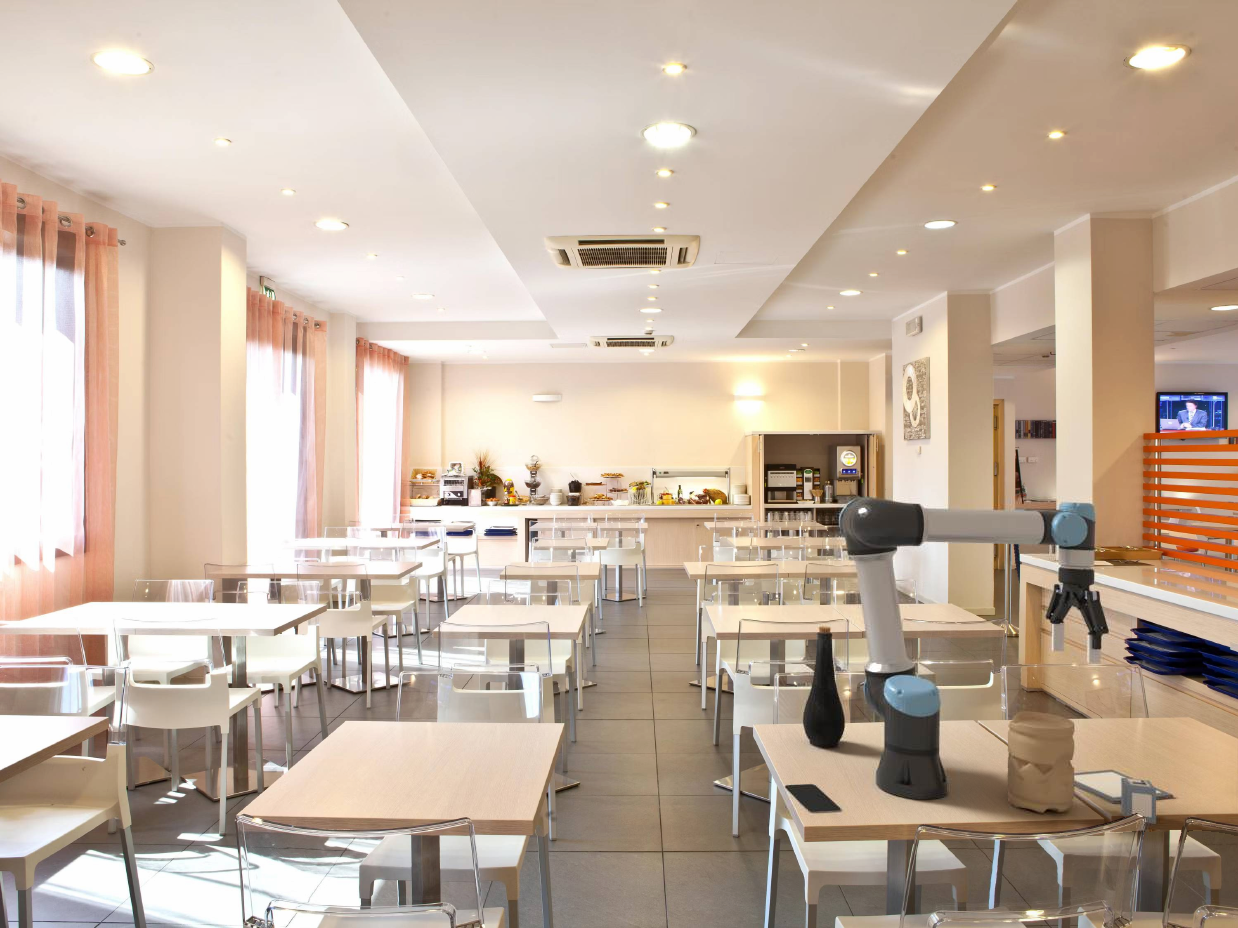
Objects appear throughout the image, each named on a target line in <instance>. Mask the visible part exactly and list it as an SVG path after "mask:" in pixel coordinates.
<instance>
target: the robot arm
mask: <svg viewBox="0 0 1238 928" xmlns="http://www.w3.org/2000/svg"><path fill="white" fill-rule="evenodd" d="M1096 523H1097V521H1096V512H1095V506H1094V505H1093V504H1092V503H1090V502H1089V503H1088V502H1065V501H1064V502H1060V504H1059V507H1058V509H1054V510H1049V509H1030V508H1029V509H1028V508H1027V509H1025V508H1022V509H1012V510H1007V509H974V508H973V509H972V508H970V509H967V508H934V507H933V508H929V507H927V508H925V507H924V506H923V505H922V504H921V503H911V502H907V503H906V502H901V501H895V500H890V499H887V498H880V497H871V496H862V497H857V498H855V499H853V500H849V502H847V503H846V504H845V505H844V506H843V508H842V510H841V511H840V514H839V518H838V525H839V529H840V532H841V534H842V535H843V537H844V539H845V546H846V552H847V556H848V558H850V559H851V560H853V561H854V563H855V570H856V575H857V576H856V577H857V583H858V589H859V595H860V604H861V610H862V616H863V622H864V623H863V624H864V628H865V629H864V630H865V637H866V644H867V651H868V657H869V658H868V659H869V660H868V661H867V662H866V663H865V665H864V667H863V668H864V675H865V680H864V683H863V694H864V696H863V697H864V698H865V701H866V704H867V706H868V707H869V709H870V710H872V712H873V713H874V714H875V715H876V716H877V717H879V718H880V719H881V720H882V721H883V722H884V724H883V726H884V727H883V729H884V731H883V734H884V735H883V740H884V742H883V743H884V744H883V746H884V747H883V751H882V754H881V757H880V759H879V763H878V766H877V768H876V771H875V784H876V786H877V787H878V788H879V789H881V790H882V791H884V792H886V793H889V794H891V795H894V796H898V797H902V798H908V799H916V800H935V799H936V800H937V799H940V798H944V797H945V796H946V795H947V794H948V791H949V790H948V788H949V787H948V786H949V785H948V783H949V782H948V778H947V775H946V772H945V769H944V766H943V763H942V760H941V755H940V733H941V731H940V728H941V725H940V720H941V719H940V718H941V717H940V716H941V715H940V713H941V704H942V703H941V696H940V690H939V688H938V687H937V685H936V684H935V683H933V681H930V680H929V679H926V678H923V677H920V676H917V672H916V666H915V662H914V661H913V660H911V659H910V658H908V656H907V651H906V645H905V637H904V629H903V625H902V617H901V611H900V609H901V608H900V605H899V604H900V603H899V598H898V597H899V596H898V589H897V584H896V576H895V570H894V569H895V568H894V563H893V557H894V556H895V555H896V553H897V552H898V547H899V548H900V547H920V546H921V545H923V544H924V543H955V544H956V543H958V544H959V543H962V544H963V543H965V544H967V543H970V544H1002V545H1003V544H1004V545H1005V544H1008V545H1041V546H1042V545H1043V546H1058V560H1057V562H1058V565H1059V567H1058V574H1057V576H1058V577H1057V579H1058V582H1059V583H1055V584H1054V585H1053V590H1052V591H1053V593H1052V595H1051V598H1050V602H1049V604H1048V606H1047V611H1046V614H1045V619H1046V620H1049V622H1050V624H1051V651H1052V652H1064V651H1065V621H1064V620H1065V618H1066V616H1067V615H1068V613H1069V612H1070V610H1071V608H1072V607H1073V608H1076V609H1077V610H1078V611H1080V614H1081V616H1082V618H1083V620H1084V622H1085V625H1086V626H1087V629H1088V632H1087V641H1086V642H1087V643H1086V663H1087V664H1101V656H1102V655H1101V649H1102V636H1103V635H1105V634H1106V635H1108V634H1109V632H1110V630H1109V627H1108V622H1107V619H1106V617H1105V613H1104V609H1103V605H1102V604H1101V603H1102V602H1101V595H1100V592H1099V590H1091V589H1090V587H1091V586H1092V585H1094V584H1095V570H1094V569H1093V567H1095V546H1096V544H1095V543H1096V541H1095V540H1096V539H1095V538H1096Z"/></svg>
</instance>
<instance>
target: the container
mask: <svg viewBox="0 0 1238 928" xmlns="http://www.w3.org/2000/svg"><path fill="white" fill-rule="evenodd" d="M1007 727H1008V728H1009V730H1007V752H1008V758H1007V788H1008V790H1007V799H1008V803H1009V804H1011V806H1014V807H1015V808H1016V809H1017V808H1021V809H1028V810H1032V811H1034V812H1037V813H1041V814H1043V813H1045V811H1046V810H1051V811H1054V812H1057V813H1062V812H1066V811H1068V810H1069V809H1070V808H1071V807H1072V805H1073V804H1074V799H1075V786H1074V773H1075V767H1073V765H1072V763H1071V761H1073V759H1074V754H1075V739H1074V734H1075V722H1073V721H1072V720H1071V719H1069V718H1067V717H1064V716H1060V715H1056V714H1053V713H1052V714H1051V713H1047V712H1045V713H1043V712H1037V711H1026V710H1025V711H1017V713H1015V715H1014V716H1013V718H1012V720H1010V721H1009V722H1008V726H1007Z"/></svg>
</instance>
